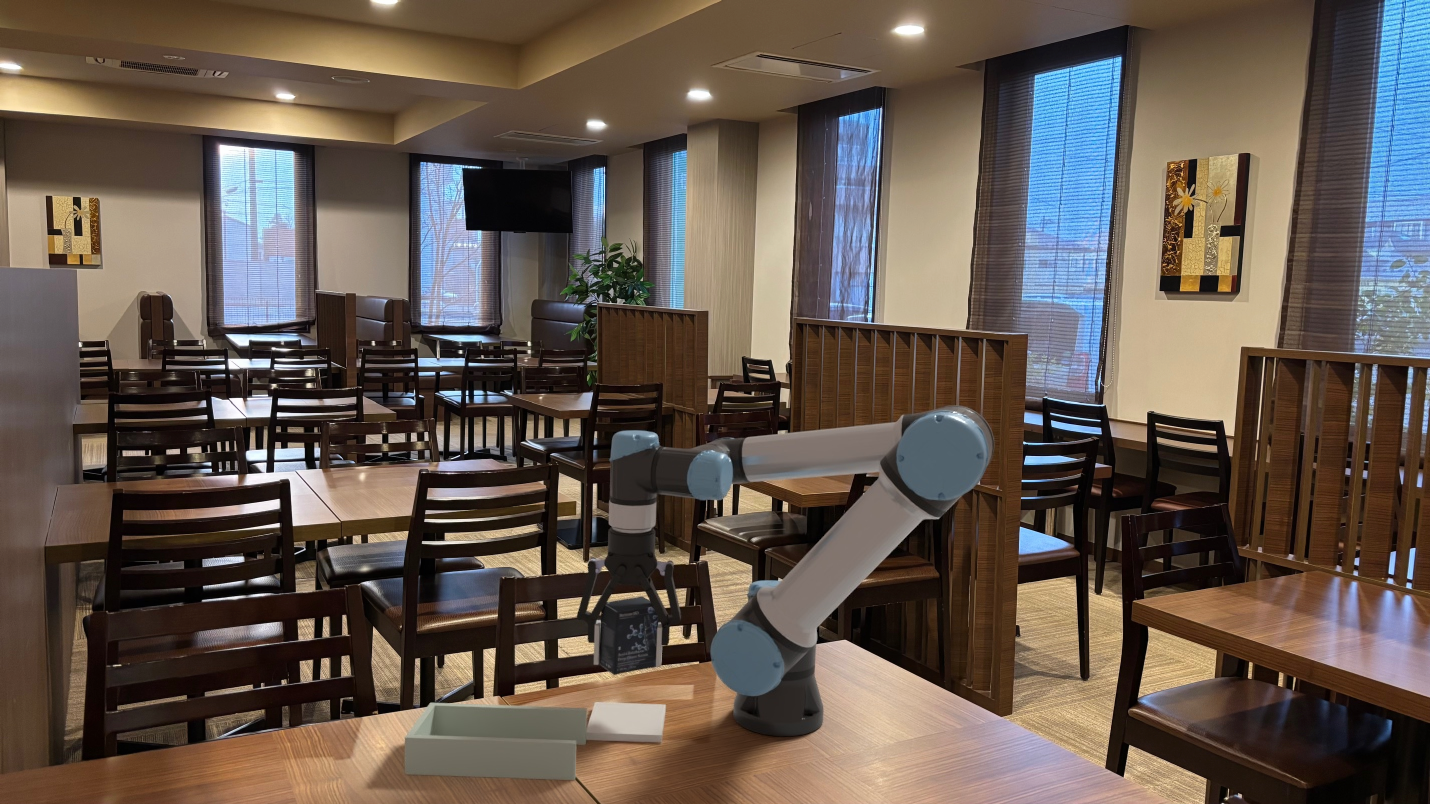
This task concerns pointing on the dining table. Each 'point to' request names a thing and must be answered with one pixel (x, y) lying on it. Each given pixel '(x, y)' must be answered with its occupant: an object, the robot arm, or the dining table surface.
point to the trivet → (626, 722)
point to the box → (628, 635)
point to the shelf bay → (496, 741)
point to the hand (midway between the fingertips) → (627, 662)
